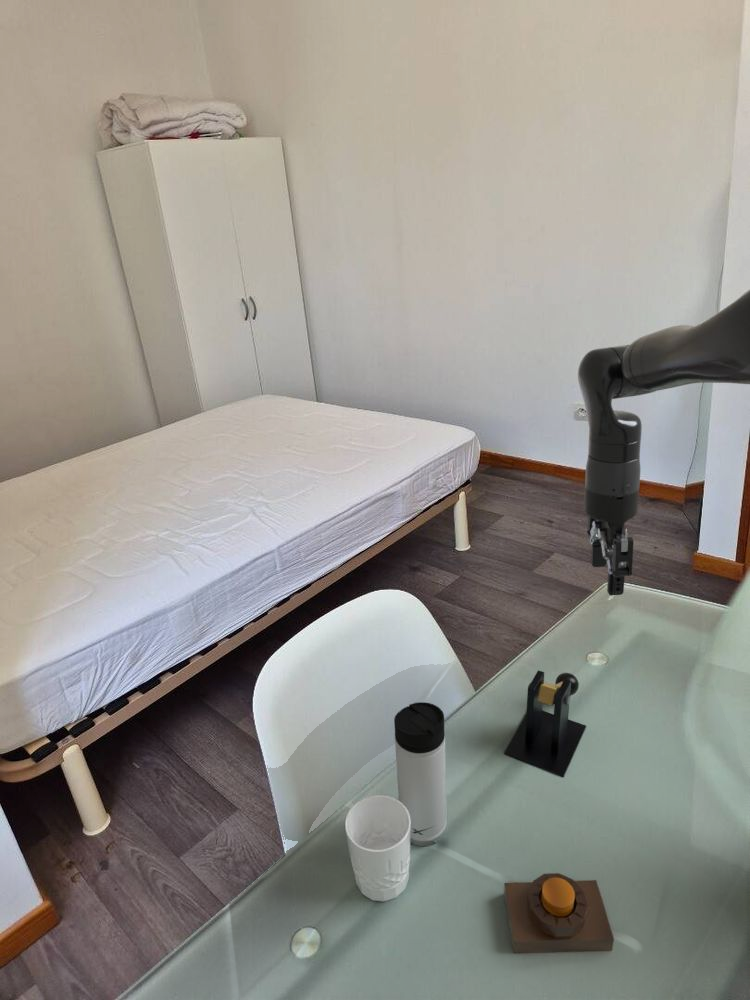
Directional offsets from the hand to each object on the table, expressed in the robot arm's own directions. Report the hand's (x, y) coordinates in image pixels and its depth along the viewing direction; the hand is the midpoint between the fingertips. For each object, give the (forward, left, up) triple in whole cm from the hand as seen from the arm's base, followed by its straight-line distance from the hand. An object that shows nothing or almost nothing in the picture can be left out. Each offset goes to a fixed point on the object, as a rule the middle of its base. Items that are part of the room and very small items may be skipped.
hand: (606, 579), depth 107 cm
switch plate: (+31, +30, -21) cm, 48 cm away
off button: (+31, +30, -17) cm, 46 cm away
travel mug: (+39, +12, -21) cm, 46 cm away
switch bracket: (+16, +8, -21) cm, 27 cm away
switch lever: (+12, +5, -15) cm, 20 cm away
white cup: (+47, +16, -21) cm, 54 cm away
